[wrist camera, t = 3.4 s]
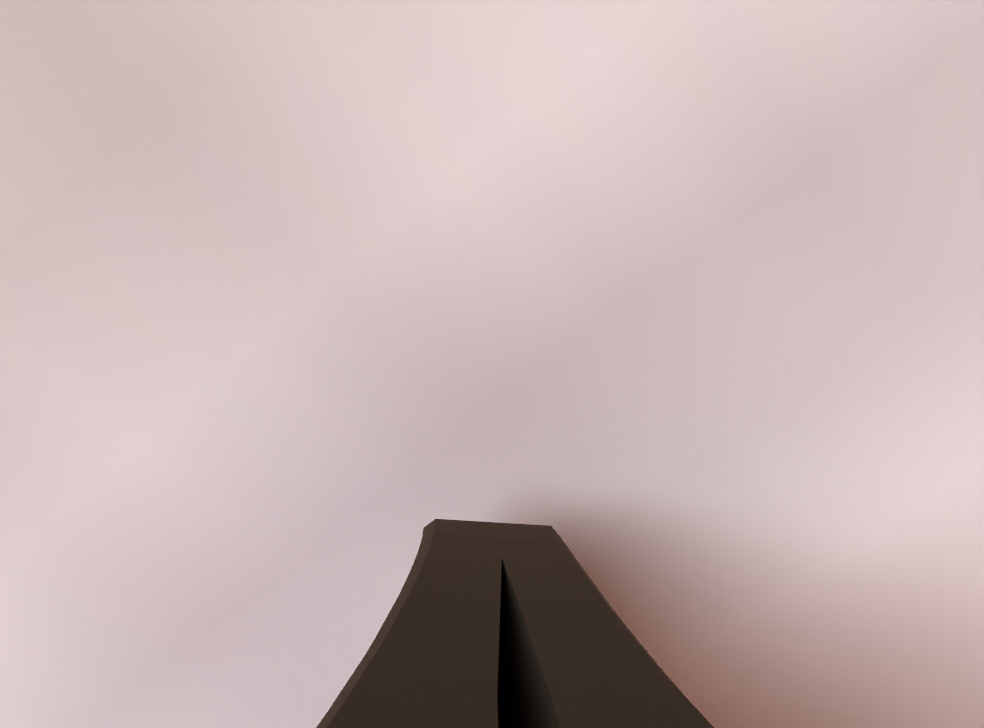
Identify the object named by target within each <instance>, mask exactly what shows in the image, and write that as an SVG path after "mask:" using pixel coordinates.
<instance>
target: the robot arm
mask: <svg viewBox="0 0 984 728" xmlns="http://www.w3.org/2000/svg"><path fill="white" fill-rule="evenodd" d="M316 728H714V727H713V726H712V725H711V724H710V723H709V722H708V721H707V720H706V719H705V718H704V717H703V715H702V714H701V713H700V712H699V711H698V710H697V709H696V708H695V707H694V706H693V705H692V704H691V703H690V701H689V700H688V699H687V698H686V697H685V696H684V695H683V694H682V693H681V691H680V690H679V689H678V688H677V687H676V686H675V684H674V683H673V682H672V681H671V680H670V679H669V678H668V676H667V675H666V674H665V673H664V672H663V671H662V669H661V668H660V667H659V666H658V665H657V663H656V662H655V661H654V660H653V658H652V657H651V656H650V655H649V654H648V652H647V651H646V650H645V649H644V647H643V646H642V645H641V644H640V643H639V641H638V640H637V639H636V638H635V636H634V635H633V634H632V633H631V631H630V630H629V629H628V628H627V627H626V625H625V624H624V623H623V622H622V620H621V619H620V618H619V616H618V615H617V614H616V613H615V611H614V610H613V609H612V607H611V606H610V605H609V603H608V602H607V601H606V599H605V598H604V597H603V595H602V594H601V593H600V591H599V590H598V589H597V587H596V586H595V585H594V583H593V582H592V581H591V579H590V578H589V577H588V575H587V574H586V572H585V571H584V570H583V568H582V567H581V565H580V564H579V563H578V561H577V560H576V558H575V557H574V556H573V554H572V553H571V551H570V550H569V549H568V547H567V546H566V544H565V543H564V542H563V540H562V539H561V537H560V536H559V535H558V534H557V533H556V531H555V530H554V529H553V528H552V526H544V525H527V524H510V523H493V522H477V521H460V520H443V519H435V520H434V521H432V522H431V523H430V524H428V525H427V526H426V527H424V529H423V536H422V541H421V544H420V547H419V551H418V554H417V556H416V559H415V561H414V564H413V566H412V569H411V571H410V573H409V575H408V577H407V580H406V582H405V584H404V586H403V588H402V590H401V592H400V594H399V596H398V598H397V600H396V602H395V604H394V605H393V607H392V609H391V611H390V613H389V614H388V616H387V618H386V620H385V622H384V623H383V625H382V627H381V629H380V631H379V633H378V634H377V636H376V638H375V640H374V641H373V643H372V645H371V646H370V648H369V650H368V651H367V653H366V655H365V656H364V658H363V659H362V661H361V662H360V664H359V665H358V667H357V668H356V670H355V671H354V673H353V674H352V676H351V677H350V679H349V680H348V682H347V683H346V685H345V686H344V688H343V689H342V691H341V692H340V694H339V696H338V697H337V699H336V700H335V702H334V703H333V705H332V706H331V708H330V709H329V711H328V712H327V713H326V715H325V716H324V718H323V719H322V720H321V722H320V723H319V725H318V726H317V727H316Z"/></svg>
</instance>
